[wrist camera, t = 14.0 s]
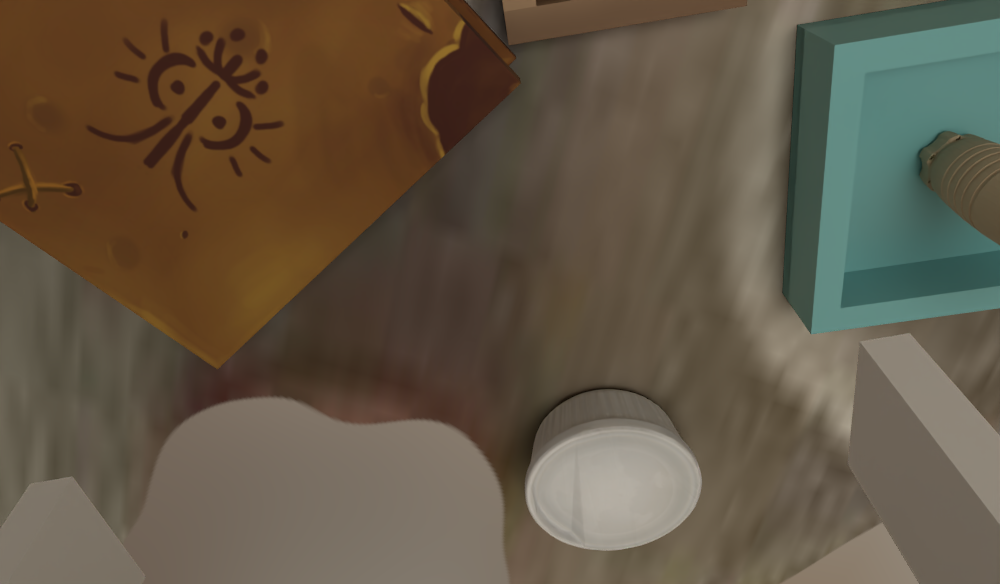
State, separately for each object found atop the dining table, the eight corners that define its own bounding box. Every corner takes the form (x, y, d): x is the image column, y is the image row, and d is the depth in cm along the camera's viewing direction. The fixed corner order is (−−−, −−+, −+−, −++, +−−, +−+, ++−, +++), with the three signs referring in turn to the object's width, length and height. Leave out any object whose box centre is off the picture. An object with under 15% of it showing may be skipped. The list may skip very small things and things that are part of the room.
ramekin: (489, 427, 50) (490, 484, 45) (625, 345, 47) (641, 397, 42) (581, 515, 55) (590, 575, 50) (710, 446, 51) (733, 502, 47)
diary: (211, -280, 30) (160, -307, 25) (515, 53, 38) (521, 82, 33) (-51, 100, 38) (-130, 136, 33) (244, 315, 45) (216, 371, 40)
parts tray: (797, 24, 36) (834, 45, 33) (1127, -30, 36) (1206, -16, 32) (782, 292, 45) (811, 334, 41) (1050, 254, 44) (1105, 293, 40)
